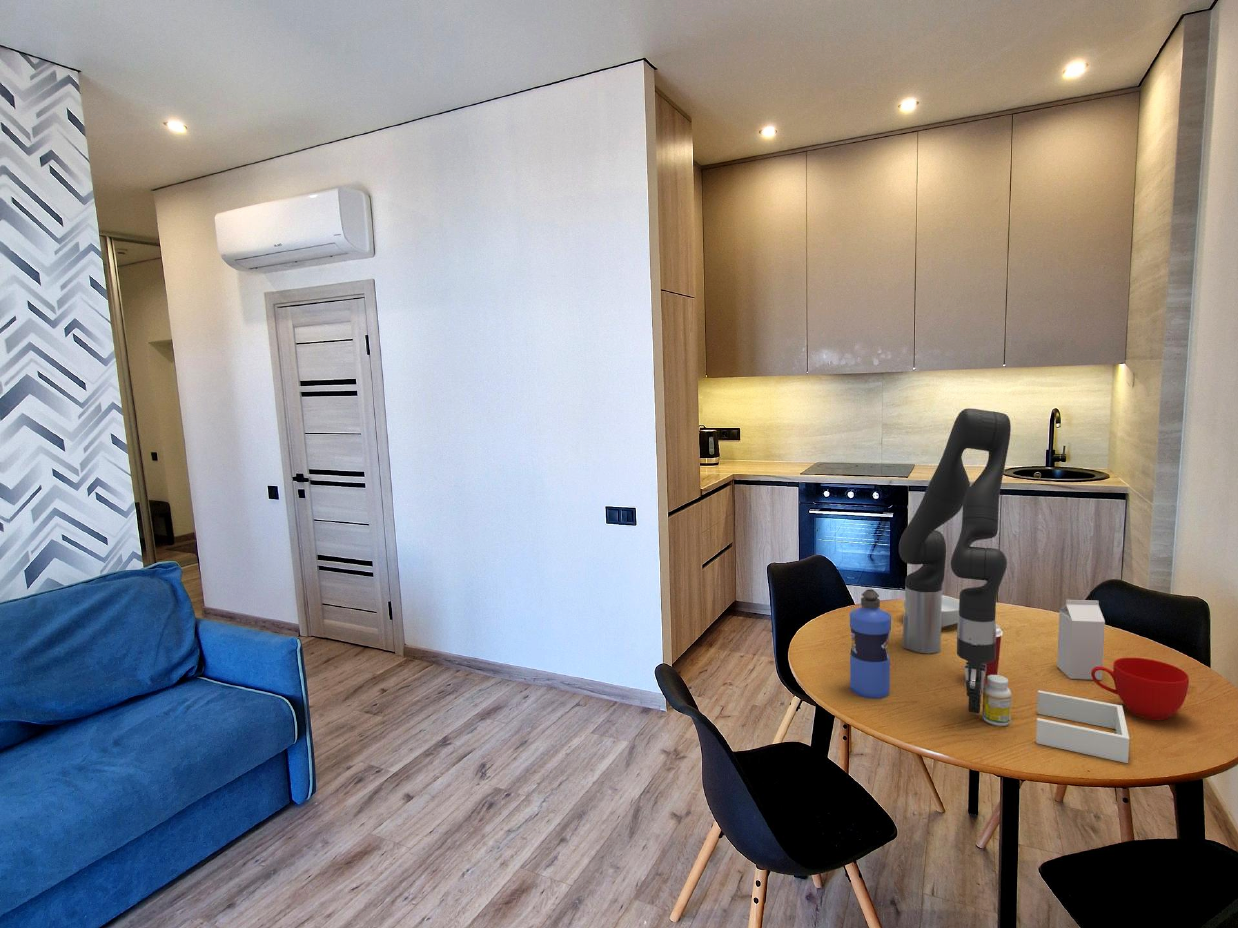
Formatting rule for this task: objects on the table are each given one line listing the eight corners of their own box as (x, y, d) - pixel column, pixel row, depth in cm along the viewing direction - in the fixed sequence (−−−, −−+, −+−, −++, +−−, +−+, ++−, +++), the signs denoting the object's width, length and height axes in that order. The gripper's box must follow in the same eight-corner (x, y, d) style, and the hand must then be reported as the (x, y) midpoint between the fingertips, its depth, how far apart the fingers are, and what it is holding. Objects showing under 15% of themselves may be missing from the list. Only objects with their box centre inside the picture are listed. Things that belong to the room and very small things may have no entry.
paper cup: (997, 675, 167) (999, 621, 165) (1004, 689, 159) (1006, 633, 158) (962, 672, 169) (964, 619, 168) (967, 685, 162) (969, 630, 160)
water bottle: (848, 695, 159) (848, 594, 156) (850, 679, 168) (850, 583, 165) (890, 701, 156) (891, 598, 153) (890, 683, 164) (891, 586, 161)
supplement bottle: (1007, 729, 142) (1009, 686, 141) (979, 721, 145) (980, 679, 144) (1012, 718, 146) (1014, 677, 145) (985, 711, 149) (986, 671, 148)
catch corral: (1036, 742, 136) (1037, 719, 135) (1037, 711, 149) (1038, 690, 148) (1127, 763, 128) (1129, 738, 127) (1120, 728, 140) (1122, 705, 140)
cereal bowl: (960, 637, 191) (960, 613, 191) (898, 627, 200) (899, 605, 200) (966, 619, 206) (967, 597, 205) (908, 610, 215) (909, 589, 214)
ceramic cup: (1087, 690, 157) (1089, 650, 156) (1179, 706, 149) (1182, 663, 147) (1092, 715, 146) (1094, 671, 145) (1192, 733, 138) (1195, 687, 136)
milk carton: (1102, 680, 162) (1106, 605, 160) (1069, 679, 163) (1072, 604, 161) (1087, 668, 169) (1091, 596, 167) (1056, 666, 170) (1059, 595, 168)
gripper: (960, 623, 153) (959, 695, 155) (953, 643, 142) (951, 720, 144) (998, 629, 149) (995, 702, 151) (993, 650, 138) (991, 729, 140)
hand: (974, 711), depth 148 cm, fingers closed
